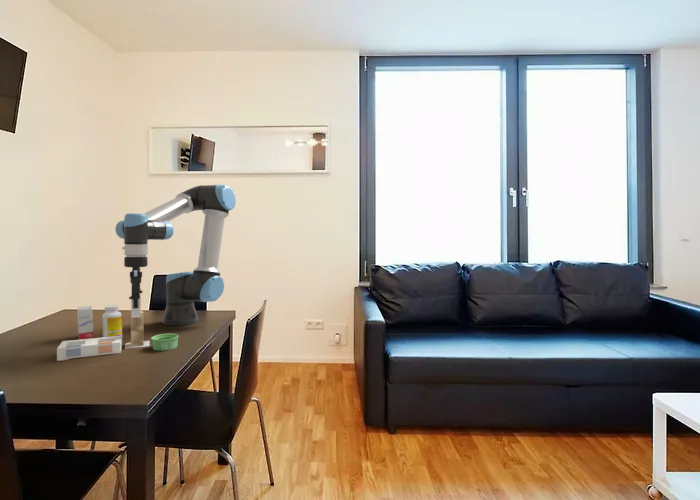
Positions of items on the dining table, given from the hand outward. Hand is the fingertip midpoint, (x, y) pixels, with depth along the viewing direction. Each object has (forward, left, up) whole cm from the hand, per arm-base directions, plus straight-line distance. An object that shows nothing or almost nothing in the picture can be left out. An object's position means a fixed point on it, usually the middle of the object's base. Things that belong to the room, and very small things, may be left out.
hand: (136, 314), depth 151 cm
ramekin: (-9, +8, -12) cm, 17 cm away
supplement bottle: (+9, -15, -12) cm, 21 cm away
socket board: (+14, +4, -12) cm, 18 cm away
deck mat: (0, 0, -12) cm, 12 cm away
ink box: (+18, -22, -12) cm, 31 cm away
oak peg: (0, 0, -11) cm, 11 cm away
